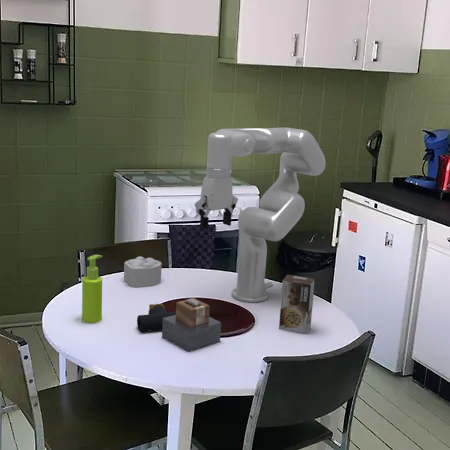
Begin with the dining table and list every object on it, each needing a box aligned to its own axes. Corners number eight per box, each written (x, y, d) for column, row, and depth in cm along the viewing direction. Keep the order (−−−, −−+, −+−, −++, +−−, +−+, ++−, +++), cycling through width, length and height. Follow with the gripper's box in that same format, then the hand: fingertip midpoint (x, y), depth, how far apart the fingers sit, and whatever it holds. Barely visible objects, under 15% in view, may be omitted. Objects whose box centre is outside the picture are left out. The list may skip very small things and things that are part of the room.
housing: (193, 327, 198) (195, 290, 196) (219, 341, 190) (222, 302, 187) (161, 337, 190) (163, 298, 188) (188, 352, 182) (190, 311, 179)
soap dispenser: (107, 317, 203) (108, 255, 198) (94, 324, 196) (94, 261, 191) (91, 313, 205) (92, 252, 200) (78, 320, 199) (78, 257, 194)
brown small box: (192, 313, 194) (193, 298, 192) (208, 321, 188) (209, 305, 187) (175, 318, 189) (176, 302, 188) (191, 326, 184) (192, 310, 183)
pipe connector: (132, 303, 201) (178, 300, 206) (131, 319, 202) (177, 315, 208) (141, 318, 191) (190, 314, 196) (141, 335, 192) (189, 330, 198)
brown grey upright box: (311, 327, 205) (316, 278, 201) (306, 334, 199) (311, 284, 195) (282, 321, 208) (287, 273, 204) (277, 329, 202) (282, 279, 198)
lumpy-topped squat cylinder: (121, 279, 237) (122, 256, 235) (155, 276, 243) (156, 253, 241) (130, 288, 228) (131, 265, 226) (165, 285, 234) (166, 262, 232)
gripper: (230, 169, 211) (227, 220, 215) (189, 173, 199) (186, 227, 203) (246, 173, 205) (243, 225, 210) (205, 177, 194) (202, 233, 198)
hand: (215, 226), depth 207 cm, fingers open, 9 cm apart
